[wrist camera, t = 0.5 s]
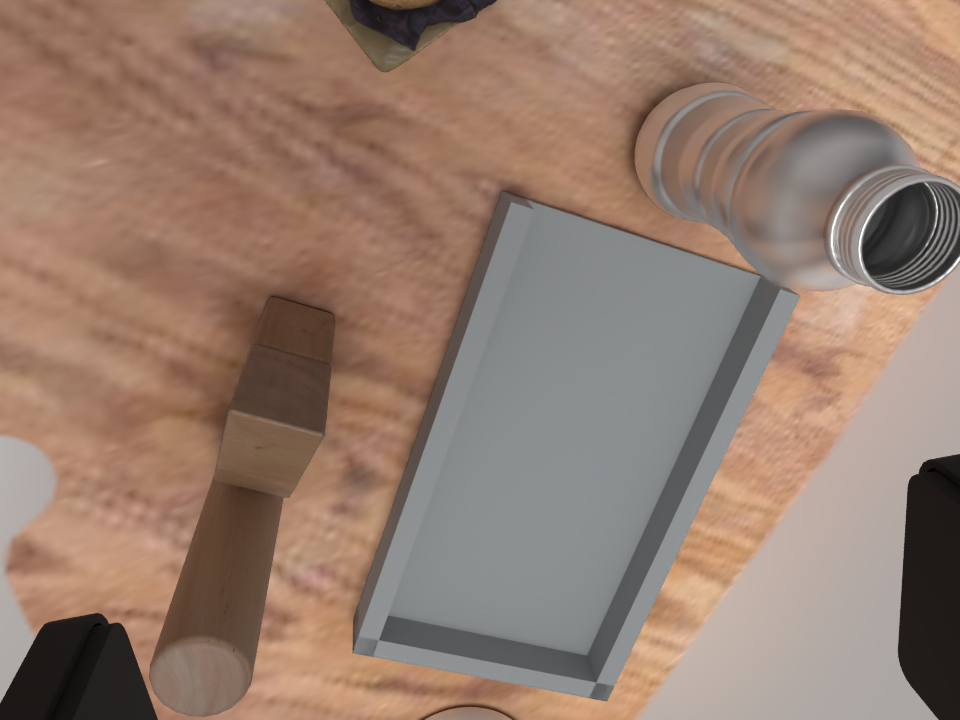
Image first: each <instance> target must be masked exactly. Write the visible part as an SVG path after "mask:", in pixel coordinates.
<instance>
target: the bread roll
mask: <svg viewBox="0 0 960 720" xmlns="http://www.w3.org/2000/svg"><path fill="white" fill-rule="evenodd" d="M325 1H326V3H327V4H328V5H329V6H330V7H331V9H332V10H333V11H334V13H335V14H336V15H337V17H338V18H339V19H340V21H341V22H342V24H344V26H345V27H346V28H347V30H348V31H349V32H350V34H351V35H352V36H353V38H354V39H355V40H356V41H357V43H358V44H359V45H360V47H361V48H362V50H363V51H364V52H365V53H366V55H367V56H368V57H369V58H370V59H371V61H372V62H373V64H374V65H375V66H376V68H377V69H379V70H380V71H382V72H389V71H390V70H392V69H395V68H396V67H398V66H399V65H401V64H402V63H404V62H405V61H407V60H409V59H410V58H411V57H413V56H414V55H415V54H416V53H418V52H419V51H420V50H422V49H423V48H425V47H426V46H427V45H429V44H431V43H432V42H433V41H434V40H436V39H437V38H438V37H440V36H442V35H443V34H444V33H446V32H447V31H448V30H449V29H450V28H452V27H454V26H455V25H456V24H457V23H461V22H465V21H468V20H471V19H473V18H476V16H477V13H478V12H479V11H480V10H482V9H483V8H485V7H487V6H488V5H492V4H493V3H494V2H495V1H497V0H325Z"/></svg>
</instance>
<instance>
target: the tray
mask: <svg viewBox="0 0 960 720" xmlns="http://www.w3.org/2000/svg"><path fill="white" fill-rule="evenodd" d="M799 298H800V296H799V295H798V294H796V293H795V292H793V291H792V290H790V289H788V288H786V287H782V286H779V285H777V284H775V283H773V282H772V281H770V280H768V279H766V278H765V277H764V276H762V275H758V274H755V273H752V272H749V271H746V270H743V269H740V268H737V267H734V266H731V265H728V264H725V263H722V262H719V261H716V260H713V259H710V258H707V257H704V256H700V255H697V254H694V253H691V252H688V251H685V250H682V249H679V248H676V247H673V246H670V245H667V244H664V243H661V242H658V241H655V240H652V239H649V238H646V237H642V236H639V235H636V234H633V233H630V232H627V231H624V230H621V229H618V228H615V227H612V226H609V225H606V224H603V223H600V222H597V221H594V220H591V219H588V218H584V217H581V216H578V215H575V214H572V213H569V212H566V211H563V210H560V209H557V208H554V207H551V206H548V205H545V204H542V203H539V202H536V201H533V200H530V199H526V198H523V197H520V196H517V195H514V194H511V193H508V192H505V191H502V192H501V195H500V198H499V201H498V204H497V206H496V209H495V212H494V215H493V218H492V221H491V224H490V227H489V229H488V232H487V235H486V238H485V241H484V244H483V247H482V250H481V253H480V255H479V258H478V261H477V264H476V267H475V270H474V273H473V276H472V278H471V281H470V284H469V287H468V290H467V293H466V296H465V299H464V302H463V304H462V307H461V310H460V313H459V316H458V319H457V322H456V325H455V327H454V330H453V333H452V336H451V339H450V342H449V345H448V348H447V351H446V353H445V356H444V359H443V362H442V365H441V368H440V371H439V374H438V377H437V379H436V382H435V385H434V388H433V391H432V394H431V397H430V400H429V402H428V405H427V408H426V411H425V414H424V417H423V420H422V423H421V426H420V428H419V431H418V434H417V437H416V440H415V443H414V446H413V449H412V451H411V454H410V457H409V460H408V463H407V466H406V469H405V472H404V475H403V477H402V480H401V483H400V486H399V489H398V492H397V495H396V498H395V500H394V503H393V506H392V509H391V512H390V515H389V518H388V521H387V524H386V526H385V529H384V532H383V535H382V538H381V541H380V544H379V547H378V550H377V552H376V555H375V558H374V561H373V564H372V567H371V570H370V573H369V575H368V578H367V581H366V584H365V587H364V590H363V593H362V596H361V599H360V601H359V604H358V607H357V610H356V613H355V616H354V619H353V653H355V654H360V655H366V656H371V657H376V658H381V659H387V660H392V661H397V662H402V663H408V664H413V665H418V666H423V667H429V668H434V669H439V670H444V671H450V672H455V673H460V674H465V675H471V676H476V677H481V678H486V679H492V680H497V681H502V682H507V683H513V684H518V685H523V686H528V687H534V688H539V689H544V690H549V691H555V692H560V693H565V694H570V695H576V696H581V697H586V698H591V699H597V700H602V701H607V700H608V698H609V696H610V694H611V692H612V690H613V688H614V686H615V684H616V682H617V680H618V677H619V675H620V673H621V671H622V669H623V667H624V665H625V663H626V661H627V659H628V656H629V654H630V652H631V650H632V648H633V646H634V644H635V642H636V640H637V638H638V635H639V633H640V631H641V629H642V627H643V625H644V623H645V621H646V619H647V617H648V614H649V612H650V610H651V608H652V606H653V604H654V602H655V600H656V598H657V596H658V594H659V591H660V589H661V587H662V585H663V583H664V581H665V579H666V577H667V575H668V573H669V570H670V568H671V566H672V564H673V562H674V560H675V558H676V556H677V554H678V552H679V549H680V547H681V545H682V543H683V541H684V539H685V537H686V535H687V533H688V531H689V528H690V526H691V524H692V522H693V520H694V518H695V516H696V514H697V512H698V510H699V508H700V505H701V503H702V501H703V499H704V497H705V495H706V493H707V491H708V489H709V487H710V484H711V482H712V480H713V478H714V476H715V474H716V472H717V470H718V468H719V466H720V463H721V461H722V459H723V457H724V455H725V453H726V451H727V449H728V447H729V445H730V442H731V440H732V438H733V436H734V434H735V432H736V430H737V428H738V426H739V424H740V422H741V419H742V417H743V415H744V413H745V411H746V409H747V407H748V405H749V403H750V401H751V398H752V396H753V394H754V392H755V390H756V388H757V386H758V384H759V382H760V380H761V377H762V375H763V373H764V371H765V369H766V367H767V365H768V363H769V361H770V359H771V356H772V354H773V352H774V350H775V348H776V346H777V344H778V342H779V340H780V338H781V336H782V333H783V331H784V329H785V327H786V325H787V323H788V321H789V319H790V317H791V315H792V312H793V310H794V308H795V306H796V304H797V302H798V300H799Z"/></svg>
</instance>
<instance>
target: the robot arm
mask: <svg viewBox="0 0 960 720" xmlns="http://www.w3.org/2000/svg"><path fill="white" fill-rule="evenodd" d="M905 526H906V527H905V543H904V558H903V576H902V592H901V609H900V626H899V643H898V657H899V662H900V666H901V668H902V671H903V673H904V675H905V677H906V679H907V681H908V682H909V684H910V685H911V687H912V688H913V689H914V690H915V691H916V693H917V694H918V695H919V696H920V698H921V699H922V700H923V701H924V702H925V704H926V705H927V706H928V707H929V709H930V710H931V711H932V712H933V713H934V715H935V716H936V717H937V718H938V719H939V720H960V454H958V455H952V456H947V457H941V458H936V459H930V460H928V461H926V462H924V463H923V464H922V466H921V468H920V470H919V474H916V475H914V476H912V477H911V479H910V480H909V484H908V492H907V509H906V525H905ZM0 720H158V719H157V716H156V713H155V711H154V708H153V705H152V702H151V699H150V697H149V694H148V691H147V688H146V685H145V683H144V680H143V677H142V674H141V672H140V669H139V666H138V663H137V660H136V658H135V655H134V652H133V649H132V646H131V644H130V641H129V638H128V635H127V633H126V631H125V628H124V627H123V626H122V624H120V623H112V624H109V623H108V621H107V619H106V618H105V617H104V616H103V615H102V614H99V613H95V614H89V615H84V616H79V617H73V618H68V619H62V620H57V621H51V622H48V623H46V624H44V626H43V627H42V628H41V629H40V631H39V633H38V635H37V636H36V638H35V640H34V642H33V644H32V646H31V648H30V649H29V651H28V653H27V655H26V657H25V659H24V661H23V662H22V664H21V666H20V668H19V670H18V672H17V673H16V675H15V677H14V679H13V681H12V683H11V685H10V686H9V688H8V690H7V692H6V694H5V696H4V698H3V700H2V701H1V703H0Z"/></svg>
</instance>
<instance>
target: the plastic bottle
mask: <svg viewBox="0 0 960 720" xmlns="http://www.w3.org/2000/svg"><path fill="white" fill-rule="evenodd" d="M635 167H636V172H637V175H638V178H639V180H640V183H641V185H642V187H643V189H644V191H645V192H646V194H647V195H648V197H649V198H650V199H651V201H652V202H653V203H654V204H655V205H656V206H657V207H658V208H660V209H661V210H662V211H664V212H666V213H668V214H669V215H671V216H674V217H677V218H681V219H684V220H688V221H692V222H700V223H705V224H708V225H711V226H713V227H715V228H716V229H717V230H719V231H720V232H721V233H722V234H724V235H725V236H726V237H728V239H729V240H730V241H731V242H732V244H733V245H734V246H735V247H736V249H737V250H738V251H739V252H740V254H741V255H742V256H743V257H744V259H745V260H746V261H747V262H748V263H749V264H750V265H751V266H752V267H754V268H755V269H756V270H757V271H758V272H759V273H760V274H761V275H763V276H764V277H765V278H766V279H768V280H770V281H772V282H773V283H775V284H777V285H779V286H782V287H786V288H789V289H793V290H804V291H822V292H823V291H831V290H839V289H842V288H845V287H848V286H852V285H855V284H861V285H864V286H870V287H872V288H874V289H876V290H878V291H882V292H885V293H889V294H897V295H907V294H914V293H917V292H921V291H924V290H926V289H928V288H930V287H932V286H934V285H936V284H938V283H939V282H940V281H942V280H943V279H945V278H946V277H947V276H948V275H949V274H950V273H951V272H952V271H953V270H954V269H955V268H956V267H957V266H958V264H959V263H960V186H958V185H956V184H955V183H953V182H952V181H950V180H948V179H946V178H943V177H940V176H937V175H933V174H931V173H929V172H928V171H926V170H924V169H921V168H920V166H919V162H918V159H917V157H916V155H915V154H914V152H913V150H912V148H911V146H910V145H909V144H908V143H907V142H906V141H905V140H904V139H903V138H902V137H901V135H900V134H899V133H898V132H897V131H896V130H895V129H894V128H893V127H892V126H891V125H889V124H888V123H886V122H884V121H883V120H881V119H880V118H878V117H876V116H873V115H871V114H868V113H865V112H862V111H853V110H842V109H825V110H813V111H800V112H791V111H782V110H776V109H773V108H771V107H769V106H767V105H765V104H764V103H763V102H762V101H761V100H760V99H758V98H756V97H755V96H753V95H752V94H750V93H748V92H747V91H745V90H743V89H742V88H740V87H737V86H734V85H731V84H728V83H719V82H710V83H701V84H697V85H694V86H690V87H687V88H684V89H681V90H678V91H677V92H675V93H673V94H671V95H669V96H668V97H666V98H665V99H664V100H662V101H661V102H660V103H659V104H658V105H657V106H656V107H655V108H654V109H653V110H652V111H651V112H650V114H649V115H648V117H647V118H646V120H645V121H644V123H643V125H642V127H641V129H640V132H639V134H638V137H637V141H636V146H635Z"/></svg>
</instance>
